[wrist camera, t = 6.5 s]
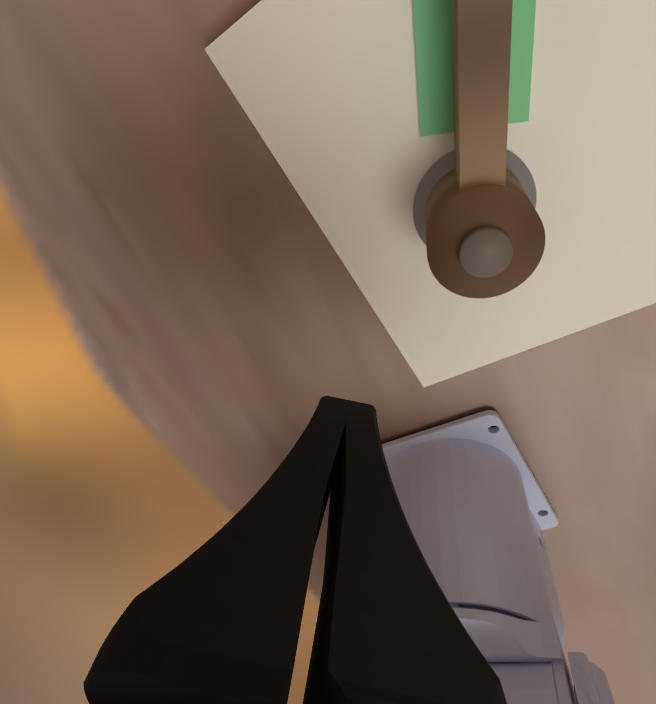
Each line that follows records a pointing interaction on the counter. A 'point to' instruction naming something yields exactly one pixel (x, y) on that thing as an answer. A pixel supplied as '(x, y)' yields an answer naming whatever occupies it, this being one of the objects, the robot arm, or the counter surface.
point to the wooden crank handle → (481, 168)
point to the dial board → (439, 158)
